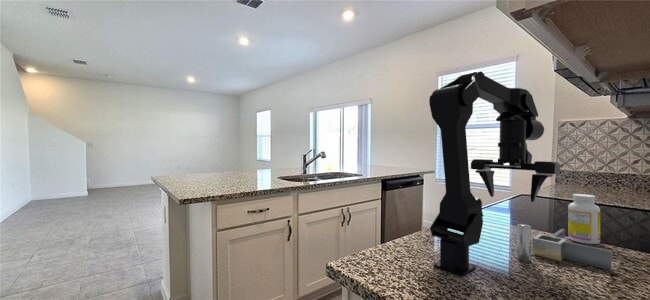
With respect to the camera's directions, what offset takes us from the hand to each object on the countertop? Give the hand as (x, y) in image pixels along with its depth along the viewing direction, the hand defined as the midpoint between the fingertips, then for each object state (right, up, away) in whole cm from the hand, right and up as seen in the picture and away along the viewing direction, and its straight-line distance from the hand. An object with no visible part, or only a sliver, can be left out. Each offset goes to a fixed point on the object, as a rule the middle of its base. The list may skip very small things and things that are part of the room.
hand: (511, 199), depth 74 cm
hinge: (+13, -13, -5) cm, 19 cm away
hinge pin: (-2, -13, -7) cm, 15 cm away
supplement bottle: (+24, -13, +6) cm, 28 cm away
